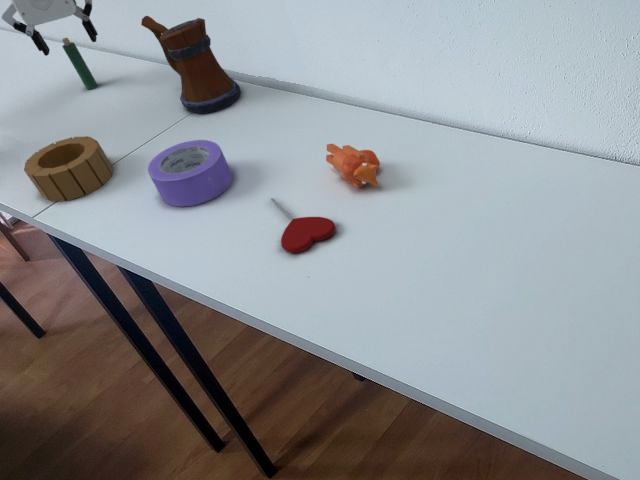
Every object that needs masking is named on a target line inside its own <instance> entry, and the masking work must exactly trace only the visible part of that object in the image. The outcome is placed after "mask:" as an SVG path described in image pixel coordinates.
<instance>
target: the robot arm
mask: <svg viewBox="0 0 640 480" xmlns="http://www.w3.org/2000/svg"><path fill="white" fill-rule="evenodd" d="M10 1H11V3H10V5H9V6H8V7H7V8H6V9H5V11H4V12H3V13H2V14H1V19H2V20H3V21H4V22H6V24H8V25H9V26H10V27H13V29H14V30H16V31H18V32H20V33H22V34H25V35H26V36H27V37H30V39H31V40H32V42H33V44H34V45H35V47H36V48H37V51H39V52H42V53H43V55H44V56H46V57H47V56H49V55H50V51H51V49H50V47H49V46H48V44H47V42H46V41H45V39H44V37H43V36H42V34H41V33H40V31H38V30H37V29H36V28H35V27H36V26H39V25H43V24H46V23H50V22H54V21H58V20H61V19H65V18H68V17H71V16H75V17H77V18H78V19H80V20H81V24H82V26H83V29H84V30H85V32H86V34H87V35H88V37H89V39H90V40H91V43H97V37H98V31H97V29H96V28H95V26H94V24H93V22H92V20H91V18H90V16H91V13H92V10H93V0H84V8H83V7H81V6H79V5H78V4H77V1H76V0H10ZM16 13H18V16H19V17H20V18H21V20H22V21H23V22H24V23H23V22H21V21H18V20H17V19H16V18H15V17H14V16H15V14H16Z"/></svg>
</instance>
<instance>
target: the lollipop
mask: <svg viewBox="0 0 640 480" xmlns="http://www.w3.org/2000/svg"><path fill="white" fill-rule="evenodd" d="M270 200H271V202H273V204H275V205H276V207H278V208H279V209H280V210H281V211H282V212H283V213H284V214H285V215H286V216H287V217H288V218H289V219H290V222H289V223H288V225H287V226H286V227H285V229H284V231H283V233H282V235H281V239H280V244H281V247H282V249H283V250H285V251H286V252H287V253H292V254H295V253H296V254H297V253H302V252H304V251H305V250H307V249H309V248H310V247H311V246H312V245H313V242H319V241H320V242H321V241H324V240H327V239H328V238H330V237H331V236H332V235H334V233H335V231H336V224H335V223H334V221H333V220H331V219H330V218H327V217H322V216H304V217H296V218H294V217H293V216H292V215H291V214H289V212H287V211H286V210H285V208H284V207H282V206H281V205H280V203H278V201H276V200H275V198H273V197H271V198H270Z"/></svg>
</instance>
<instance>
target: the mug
mask: <svg viewBox="0 0 640 480" xmlns="http://www.w3.org/2000/svg"><path fill="white" fill-rule="evenodd" d="M141 26H142V27H143V28H146V29H148V30H149V31H150V32H151V33H152V34H153V36H154V37H155V38H156V40H157V41H158V44H159V46H160V47H161V49H162V51H163V54H164V57H165V59H166V62H167V63H168V64H169V67H170V68H172V69H173V71H174V72H176V73H177V74H178V76H180V83H181V93H180V98H179V100H180V102H181V104H182V106H183V107H184V108H185V109H187V110H188V111H189V112H192V113H196V114H201V115H203V114H204V115H205V114H208V113H214V112H217V111H220V110H222V109H225V108H228V107H230V106H231V105H232V104H233V103H234V102H236V101H237V100H238V99H239V96H240V94H241V87H240V85H239V84H238V83H237V81H235V80H234V78H232V77H230V76H229V75H228V73H227V72H226V71H225V70H224V68H222V66H221V65H220V63H219V62H218V60H217V58H216V56H215V55H214V53H213V51H212V48H211V45H212V44H211V41H212V39H211V37H210V36H209V35H208V34H207V28H206V19H204V18H201V17H197V18H196V19H192V20H187V21H185V22H182V23H179V24H177V25H175V26H172V27H170V28H168V27H166V26H165V25H163V24H161V23H159V22H158V21H156V20H155V19H154V18H152V17H151V16H149V15H144V16H143V17H142V18H141Z"/></svg>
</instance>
